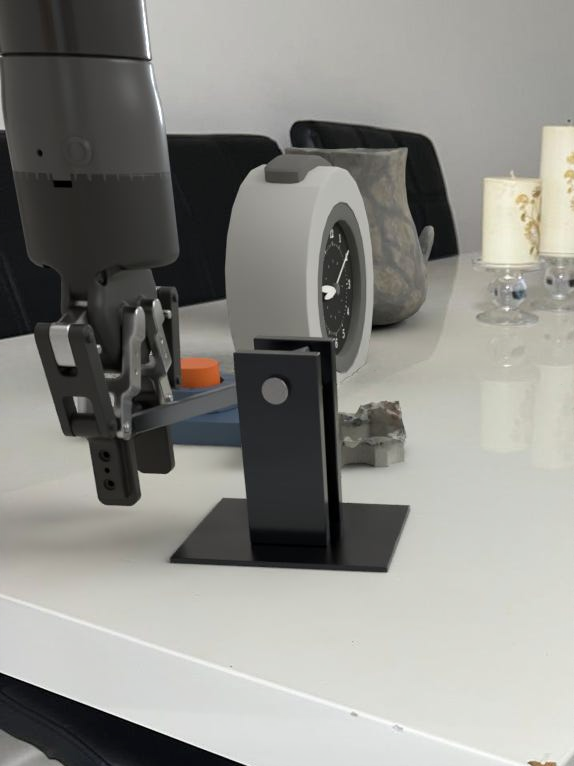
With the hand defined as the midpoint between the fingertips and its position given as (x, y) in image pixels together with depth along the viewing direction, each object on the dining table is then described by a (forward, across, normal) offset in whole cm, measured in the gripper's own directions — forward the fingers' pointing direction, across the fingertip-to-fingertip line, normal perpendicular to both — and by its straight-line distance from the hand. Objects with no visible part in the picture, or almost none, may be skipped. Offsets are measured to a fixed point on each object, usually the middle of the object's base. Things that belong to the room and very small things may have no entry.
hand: (139, 485), depth 58 cm
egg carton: (+4, -16, +8) cm, 18 cm away
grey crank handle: (-4, 0, +5) cm, 6 cm away
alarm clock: (+4, -45, 0) cm, 45 cm away
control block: (+3, -22, -4) cm, 23 cm away
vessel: (+4, -75, -1) cm, 75 cm away
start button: (-1, -22, -4) cm, 22 cm away
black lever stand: (+3, 0, +9) cm, 10 cm away
